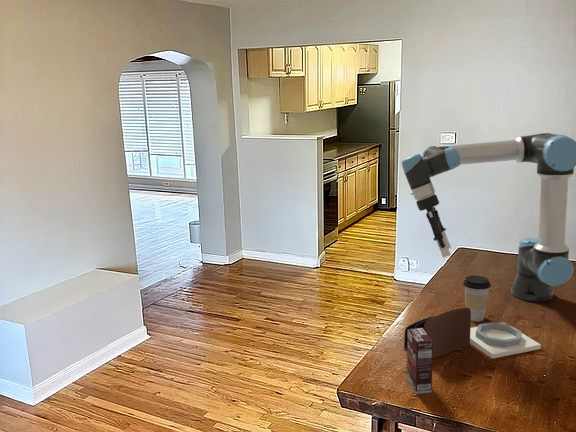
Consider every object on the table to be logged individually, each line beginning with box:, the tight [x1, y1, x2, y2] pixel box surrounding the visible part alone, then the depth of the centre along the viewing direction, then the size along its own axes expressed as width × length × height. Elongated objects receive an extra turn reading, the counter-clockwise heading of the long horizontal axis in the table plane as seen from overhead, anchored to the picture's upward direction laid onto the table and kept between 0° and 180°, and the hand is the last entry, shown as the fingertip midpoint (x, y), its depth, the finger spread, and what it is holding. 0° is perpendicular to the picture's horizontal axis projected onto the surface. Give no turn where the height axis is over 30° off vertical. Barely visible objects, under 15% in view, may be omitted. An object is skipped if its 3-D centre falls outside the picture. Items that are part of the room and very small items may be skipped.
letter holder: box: [403, 307, 472, 360], centre depth 171 cm, size 10×20×14 cm, turn 120°
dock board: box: [470, 321, 542, 359], centre depth 174 cm, size 18×18×4 cm
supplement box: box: [406, 328, 433, 395], centre depth 149 cm, size 9×5×16 cm, turn 5°
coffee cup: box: [462, 275, 492, 323], centre depth 191 cm, size 9×9×15 cm
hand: (447, 252), depth 189 cm, fingers open, 13 cm apart
